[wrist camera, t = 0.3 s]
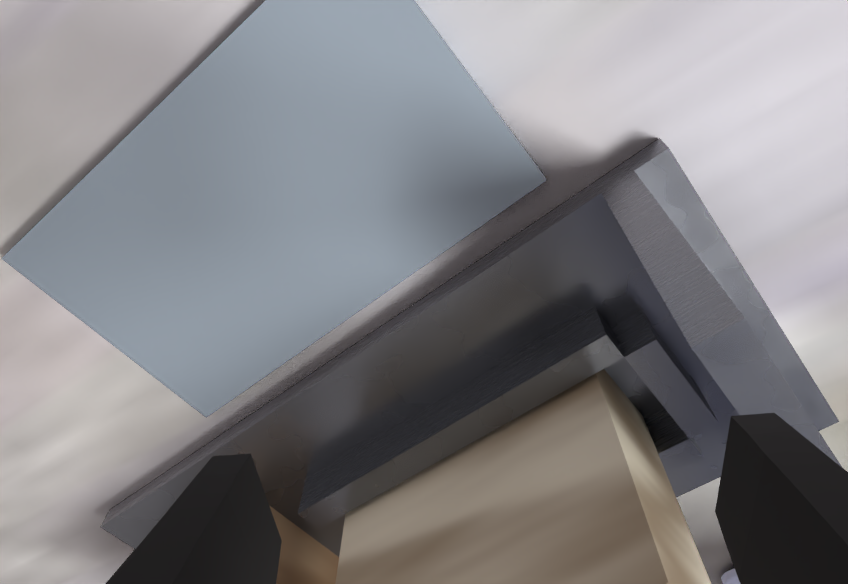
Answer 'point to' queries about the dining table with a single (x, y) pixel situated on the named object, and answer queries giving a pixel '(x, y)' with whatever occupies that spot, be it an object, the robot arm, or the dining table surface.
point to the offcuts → (303, 556)
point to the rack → (530, 358)
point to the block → (533, 506)
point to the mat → (278, 194)
